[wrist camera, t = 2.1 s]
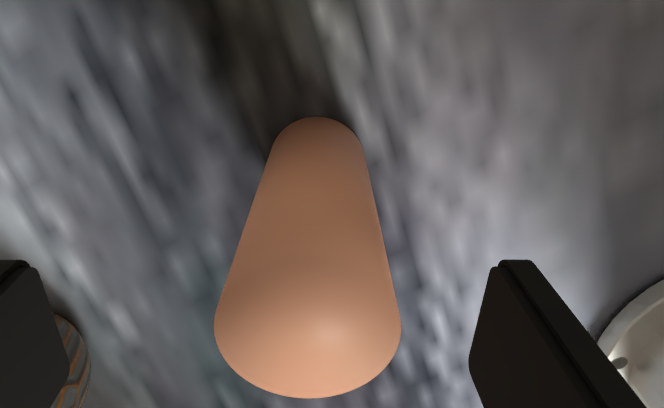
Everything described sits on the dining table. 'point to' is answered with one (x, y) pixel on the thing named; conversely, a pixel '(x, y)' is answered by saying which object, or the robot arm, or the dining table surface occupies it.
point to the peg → (310, 271)
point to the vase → (73, 366)
